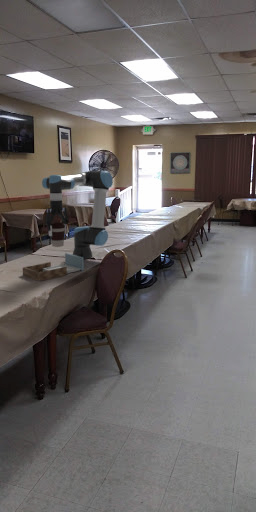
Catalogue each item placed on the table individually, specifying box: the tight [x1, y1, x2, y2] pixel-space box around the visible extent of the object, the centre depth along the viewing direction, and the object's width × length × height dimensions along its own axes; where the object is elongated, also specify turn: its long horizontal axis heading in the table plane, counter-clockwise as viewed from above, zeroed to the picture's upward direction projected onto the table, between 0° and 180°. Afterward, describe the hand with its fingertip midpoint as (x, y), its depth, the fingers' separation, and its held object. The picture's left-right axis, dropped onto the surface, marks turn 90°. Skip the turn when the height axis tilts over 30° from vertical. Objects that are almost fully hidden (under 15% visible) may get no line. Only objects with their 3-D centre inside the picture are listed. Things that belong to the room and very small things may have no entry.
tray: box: [42, 252, 85, 274], centre depth 258 cm, size 21×19×9 cm
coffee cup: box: [50, 221, 65, 248], centre depth 252 cm, size 10×10×15 cm
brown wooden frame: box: [22, 261, 68, 282], centre depth 250 cm, size 20×19×5 cm
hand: (57, 234), depth 252 cm, fingers closed on coffee cup, 10 cm apart
